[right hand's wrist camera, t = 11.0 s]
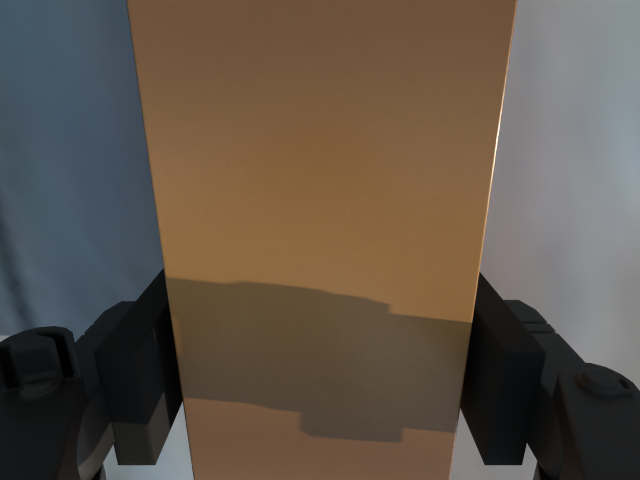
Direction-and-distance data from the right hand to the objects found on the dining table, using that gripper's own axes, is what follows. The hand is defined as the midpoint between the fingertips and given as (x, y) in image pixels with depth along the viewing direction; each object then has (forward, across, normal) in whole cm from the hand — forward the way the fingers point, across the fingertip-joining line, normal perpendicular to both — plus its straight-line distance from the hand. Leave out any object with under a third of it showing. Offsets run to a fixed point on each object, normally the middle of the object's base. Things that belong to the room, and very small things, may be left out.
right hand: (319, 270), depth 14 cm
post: (+2, 0, -24) cm, 24 cm away
